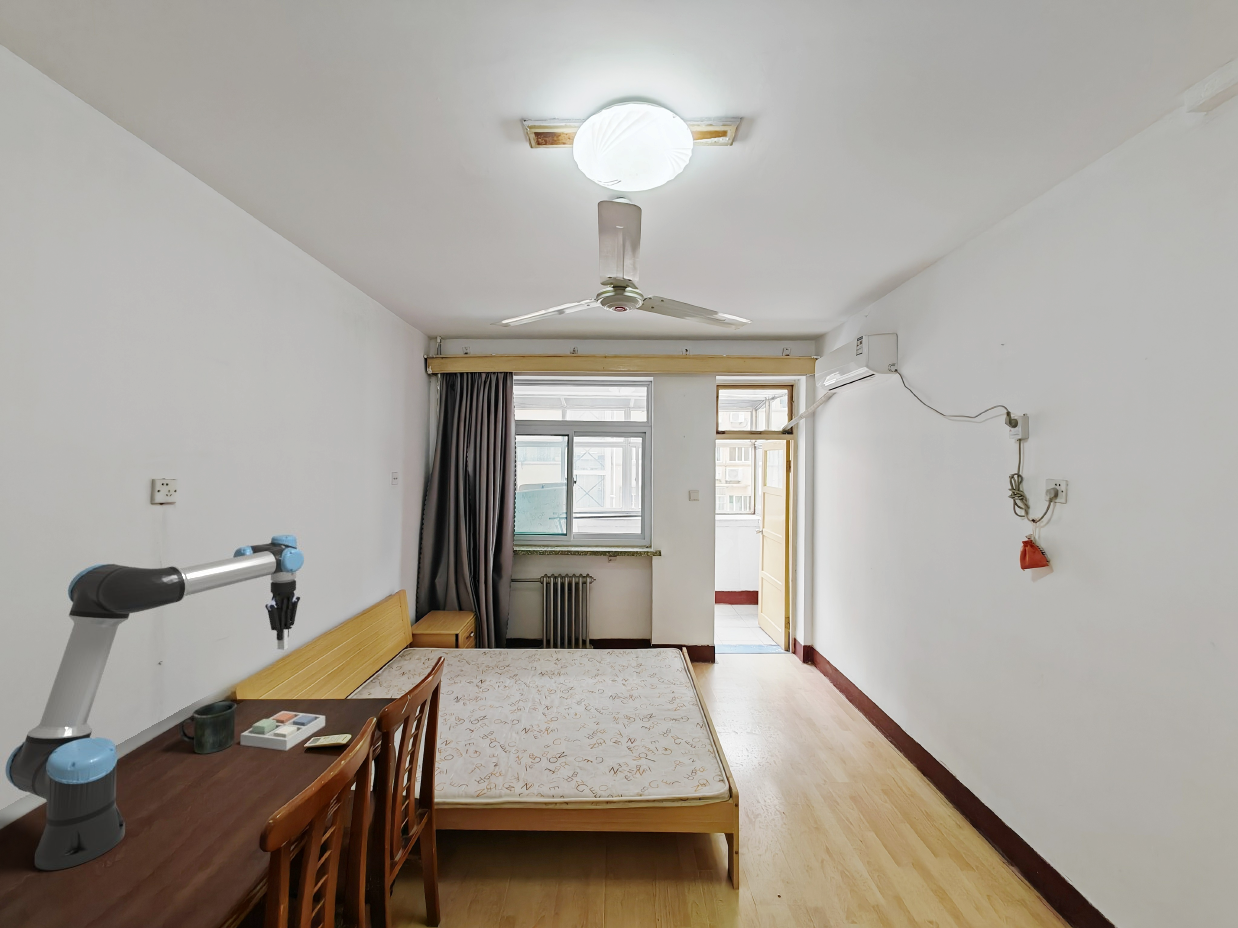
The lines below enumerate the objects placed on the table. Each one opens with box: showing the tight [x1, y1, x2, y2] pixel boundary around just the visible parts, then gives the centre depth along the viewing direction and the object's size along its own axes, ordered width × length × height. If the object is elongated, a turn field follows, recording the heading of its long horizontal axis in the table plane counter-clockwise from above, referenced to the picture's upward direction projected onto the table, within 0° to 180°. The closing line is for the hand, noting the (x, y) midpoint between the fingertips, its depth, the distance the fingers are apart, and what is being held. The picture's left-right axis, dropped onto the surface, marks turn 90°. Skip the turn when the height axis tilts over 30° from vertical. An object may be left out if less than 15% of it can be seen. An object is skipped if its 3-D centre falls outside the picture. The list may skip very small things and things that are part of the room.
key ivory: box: [274, 726, 297, 738], centre depth 179 cm, size 5×5×3 cm
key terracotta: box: [272, 713, 295, 724], centre depth 188 cm, size 5×5×3 cm
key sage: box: [251, 718, 276, 734], centre depth 180 cm, size 5×5×3 cm
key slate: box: [293, 715, 315, 726], centre depth 187 cm, size 5×5×3 cm
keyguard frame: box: [240, 710, 326, 752], centre depth 183 cm, size 17×17×3 cm
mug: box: [179, 701, 237, 755], centre depth 175 cm, size 11×15×12 cm
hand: (282, 648), depth 190 cm, fingers closed
